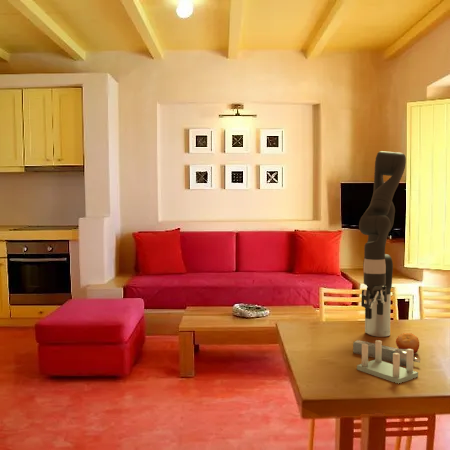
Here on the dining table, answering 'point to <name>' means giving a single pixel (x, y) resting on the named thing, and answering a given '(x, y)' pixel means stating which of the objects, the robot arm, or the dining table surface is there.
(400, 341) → the fruit
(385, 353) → the ball-topped lever
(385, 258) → the robot arm
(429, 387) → the dining table surface
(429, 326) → the dining table surface
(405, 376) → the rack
